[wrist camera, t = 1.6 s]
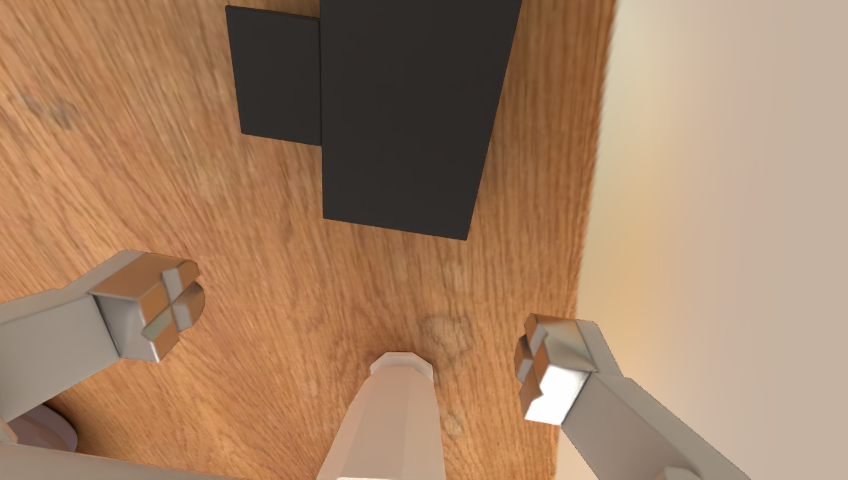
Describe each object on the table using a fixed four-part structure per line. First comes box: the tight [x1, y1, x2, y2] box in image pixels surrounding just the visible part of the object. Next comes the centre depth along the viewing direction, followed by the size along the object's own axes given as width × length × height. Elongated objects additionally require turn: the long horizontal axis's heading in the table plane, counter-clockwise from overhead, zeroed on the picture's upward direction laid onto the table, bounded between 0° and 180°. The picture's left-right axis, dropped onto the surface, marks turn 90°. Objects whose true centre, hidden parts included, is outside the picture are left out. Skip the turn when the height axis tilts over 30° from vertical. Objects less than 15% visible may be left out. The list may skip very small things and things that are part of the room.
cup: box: [316, 352, 446, 480], centre depth 21 cm, size 7×10×8 cm
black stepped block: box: [225, 0, 522, 241], centre depth 13 cm, size 10×9×3 cm
